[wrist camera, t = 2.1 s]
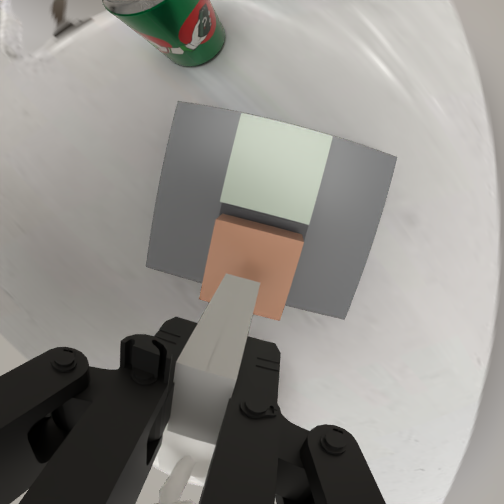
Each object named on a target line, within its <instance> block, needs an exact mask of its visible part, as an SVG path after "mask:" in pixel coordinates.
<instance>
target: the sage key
mask: <svg viewBox="0 0 504 504" xmlns="http://www.w3.org/2000/svg"><path fill="white" fill-rule="evenodd" d="M332 138H333V136H331V135H328V134H324V133H321V132H317V131H314V130H310V129H307V128H303V127H299V126H295V125H291V124H288V123H284V122H280V121H275V120H271V119H267V118H263V117H258V116H254V115H249V114H245V113H241V116H240V120H239V124H238V128H237V132H236V136H235V140H234V144H233V148H232V152H231V156H230V160H229V164H228V168H227V173H226V177H225V181H224V185H223V190H222V194H221V198H220V202H223V203H227V204H231V205H235V206H239V207H243V208H247V209H251V210H255V211H259V212H262V213H266V214H270V215H274V216H278V217H281V218H285V219H289V220H293V221H296V222H300V223H304V224H307V225H309V223H310V220H311V216H312V213H313V209H314V206H315V202H316V199H317V195H318V191H319V188H320V184H321V180H322V177H323V173H324V169H325V165H326V161H327V158H328V154H329V150H330V146H331V142H332Z"/></svg>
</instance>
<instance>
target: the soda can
mask: <svg viewBox="0 0 504 504" xmlns="http://www.w3.org/2000/svg"><path fill="white" fill-rule="evenodd" d="M102 1H103V4H104V6H105V8H106V9H107V10H108V11H109V12H110V13H111V14H113V15H114V16H116V17H117V18H118V19H120V20H121V21H122V22H124V23H125V24H126V25H128V26H129V27H130V28H131V29H133V30H134V31H135V32H137V33H138V34H139V35H141V36H142V37H143V38H144V39H146V40H147V41H148V42H149V43H151V44H152V45H153V46H154V47H156V48H157V49H158V50H159V51H160V52H162V53H163V54H164V55H165V56H167V57H168V58H169V59H170V60H171V61H173V62H174V63H176V64H178V65H182V66H196V65H200V64H203V63H205V62H207V61H209V60H210V59H212V58H213V57H214V56H215V55H216V54H217V53H218V52H219V51H220V49H221V47H222V45H223V43H224V39H225V32H224V28H223V26H222V24H221V22H220V20H219V18H218V16H217V14H216V12H215V10H214V8H213V6H212V4H211V2H210V0H102Z"/></svg>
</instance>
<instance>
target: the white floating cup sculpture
mask: <svg viewBox="0 0 504 504" xmlns="http://www.w3.org/2000/svg"><path fill="white" fill-rule="evenodd" d="M167 427H168V423H167V426H166V428H165V430H164V432H163V438H162V444H161V447H160V449H159V451H158V453H157V456H156V458H155V460H154V462H153V465H152V466H153V467H155V468H157V469H158V470H160V471H162V472H164V473H166V474H168V475H169V477H168V479H167V480H166V482H165V483H164V485H163V486H162V488H161V489H160V492H159V503H156V504H195V503H194V502H193V501H191V500H186V501H179V500H180V498H181V495H182V492H183V490H184V488H185V486H186V484H187V483H189V484H193V485H199V486H203V487H204V484H205V480H206V477H207V473H208V469H209V466H210V462H211V459H212V456H213V452H214V449H215V446H216V445H213V444H209V443H206V442H202V441H199V440H195V439H192V438H189V437H186V436H183V435H179V434H176V433H173V432H170V431H167Z"/></svg>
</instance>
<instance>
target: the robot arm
mask: <svg viewBox="0 0 504 504" xmlns="http://www.w3.org/2000/svg"><path fill="white" fill-rule="evenodd" d="M259 287H260V282H256V281H252V280H249V279H245V278H241V277H238V276H234V275H230V274H227V273H226V274H225V276H224V278H223V280H222V281H221V283H220V285H219V287H218V288H217V290H216V292H215V294H214V295H213V297H212V299H211V301H210V303H209V304H208V306H207V308H206V310H205V311H204V313H203V315H202V317H201V319H200V320H199V322H198V323H195V322H191V321H188V320H185V319H182V318H178V317H174V318H172V319H170V320H168V321H166V322H165V323H164V324H163V325H162V327H161V328H160V329H159V331H158V332H157V333H156V335H155V336H150V335H146V334H135V335H132V336H128V337H126V338H124V339H123V340H121V348H120V367H119V369H118V370H108V369H101V368H95V367H90V366H89V363H88V360H87V357H86V356H85V355H84V354H83V353H82V352H80V351H78V350H76V349H73V348H68V347H57V348H54V349H51V350H48V351H46V352H45V353H43V354H41V355H39V356H37V357H35V358H33V359H31V360H30V361H28V362H26V363H24V364H22V365H20V366H19V367H17V368H15V369H13V370H11V371H9V372H7V373H6V374H4V375H2V376H0V504H10V503H11V502H12V501H14V500H15V499H16V498H18V497H19V496H20V495H21V494H23V493H24V492H25V491H26V490H28V489H29V490H28V491H27V493H26V494H25V495H24V497H23V499H22V500H21V501H20V503H19V504H135V503H136V501H137V498H138V496H139V494H140V492H141V489H142V487H143V485H144V483H145V480H146V478H147V476H148V473H149V471H150V469H151V467H152V465H153V462H154V460H155V458H156V456H157V453H158V451H159V449H160V447H161V444H162V438H163V432H164V430H165V428H166V426H167V423H168V427H167V431H170V432H173V433H176V434H179V435H183V436H186V437H189V438H192V439H195V440H199V441H202V442H206V443H209V444H213V445H216V446H215V449H214V452H213V456H212V459H211V462H210V466H209V469H208V473H207V477H206V480H205V484H204V487H203V491H202V494H201V497H200V501H199V504H274V502H275V498H276V502H277V504H386V503H385V501H384V499H383V497H382V494H381V492H380V490H379V488H378V486H377V484H376V482H375V479H374V477H373V475H372V473H371V471H370V469H369V467H368V464H367V462H366V460H365V458H364V456H363V454H362V452H361V450H360V447H359V445H358V443H357V441H356V440H355V438H354V437H353V436H352V434H350V433H349V432H347V431H346V430H345V429H343V428H340V427H338V426H335V425H327V424H325V425H320V426H316V427H315V428H313V429H312V430H311V431H308V430H306V429H303V428H301V427H299V426H297V425H295V424H293V423H291V422H290V421H288V420H287V419H286V418H285V417H284V416H283V415H282V414H281V411H280V407H279V406H278V404H277V398H278V384H279V369H280V365H279V364H280V351H279V350H278V348H277V346H276V344H275V343H271V342H267V341H263V340H259V339H255V338H252V337H248V332H249V328H250V324H251V320H252V316H253V312H254V307H255V303H256V299H257V295H258V291H259Z"/></svg>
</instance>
